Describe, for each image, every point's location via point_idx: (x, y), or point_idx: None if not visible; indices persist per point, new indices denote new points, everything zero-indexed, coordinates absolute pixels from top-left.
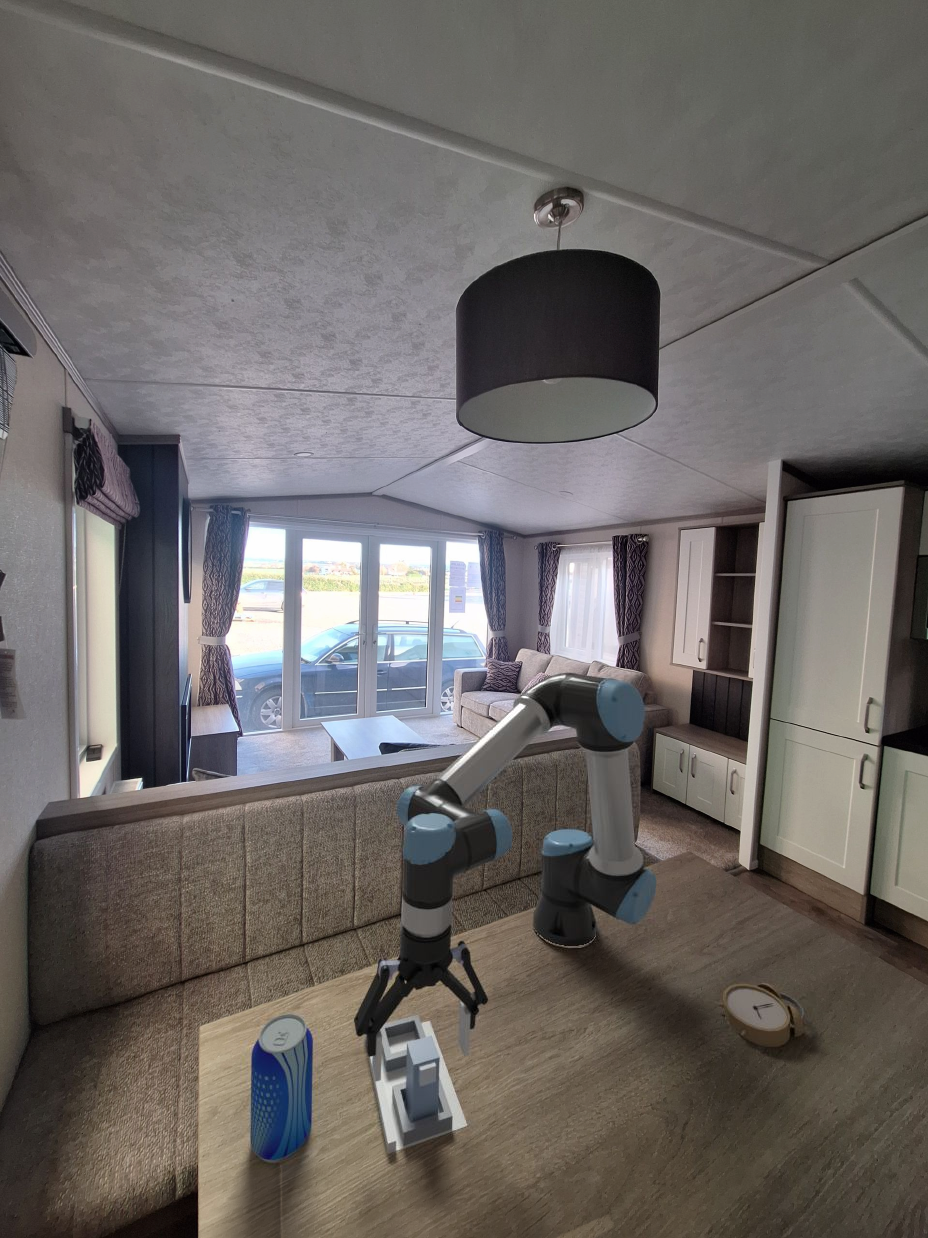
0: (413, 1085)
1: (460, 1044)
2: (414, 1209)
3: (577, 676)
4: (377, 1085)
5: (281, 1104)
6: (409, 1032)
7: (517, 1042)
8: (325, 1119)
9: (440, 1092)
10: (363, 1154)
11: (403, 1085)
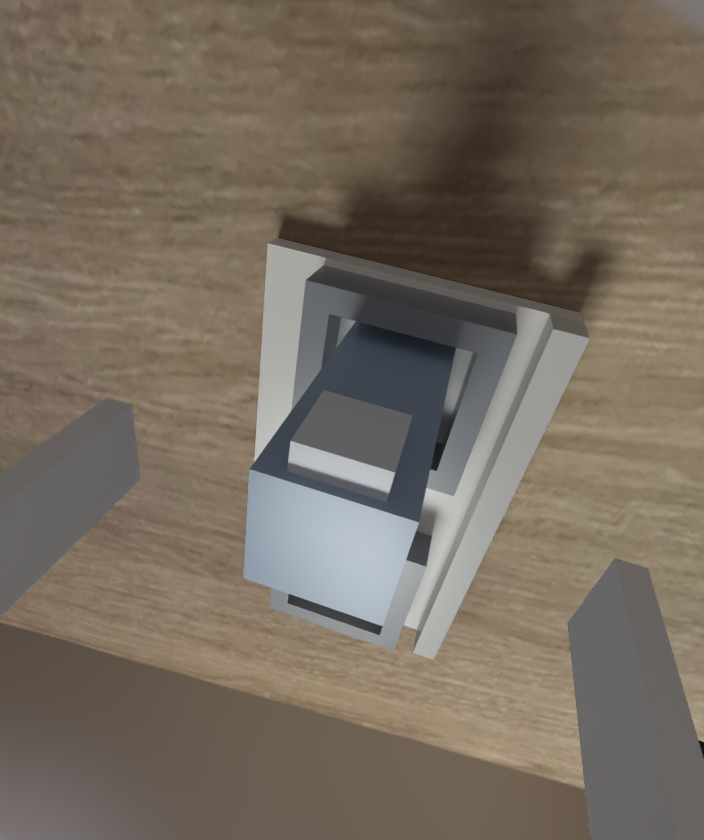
0: (433, 442)
1: (128, 462)
2: (605, 81)
3: None
4: (493, 525)
5: None
6: None
7: (35, 389)
8: (669, 534)
9: (309, 383)
10: (638, 379)
11: None
